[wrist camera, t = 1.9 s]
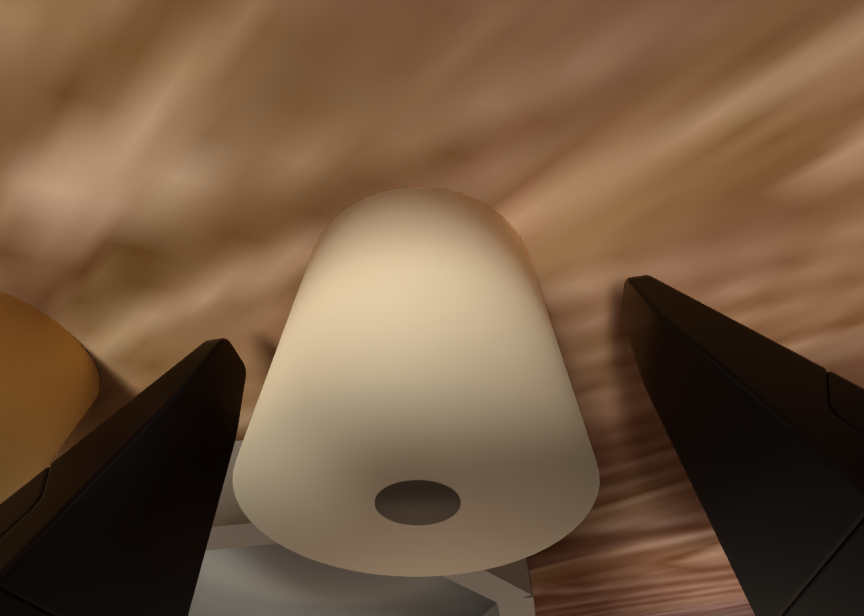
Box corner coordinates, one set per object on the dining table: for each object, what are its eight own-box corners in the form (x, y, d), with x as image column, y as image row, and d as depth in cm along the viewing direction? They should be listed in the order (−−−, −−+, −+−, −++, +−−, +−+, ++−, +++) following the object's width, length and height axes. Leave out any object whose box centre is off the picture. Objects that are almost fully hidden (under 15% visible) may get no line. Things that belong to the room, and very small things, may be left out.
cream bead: (526, 164, 8) (613, 354, 5) (536, 354, 12) (593, 564, 8) (272, 209, 9) (153, 415, 5) (346, 379, 12) (308, 589, 8)
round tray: (507, 407, 13) (522, 495, 11) (532, 619, 23) (542, 683, 21) (-32, 473, 15) (-106, 559, 13) (219, 642, 25) (201, 703, 23)
